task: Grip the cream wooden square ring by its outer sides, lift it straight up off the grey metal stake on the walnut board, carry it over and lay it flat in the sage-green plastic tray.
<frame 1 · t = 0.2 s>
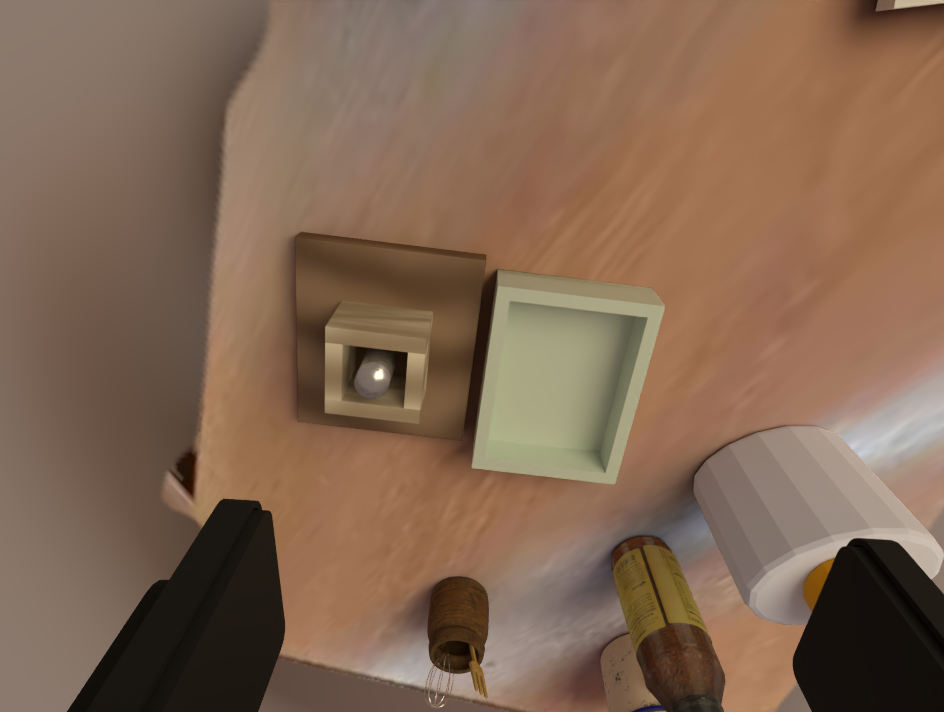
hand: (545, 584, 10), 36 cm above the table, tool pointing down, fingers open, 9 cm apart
tray: (556, 370, 49), on the table
stake board: (388, 339, 48), on the table
utensil holder: (461, 593, 61), on the table
soap bottle: (764, 464, 53), on the table
teacup with lid: (640, 646, 64), on the table
stake: (378, 364, 44), on the stake board, point 4 cm above the table
sauce bottle: (642, 554, 58), on the table
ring: (385, 347, 47), point 1 cm above the table, touching stake board
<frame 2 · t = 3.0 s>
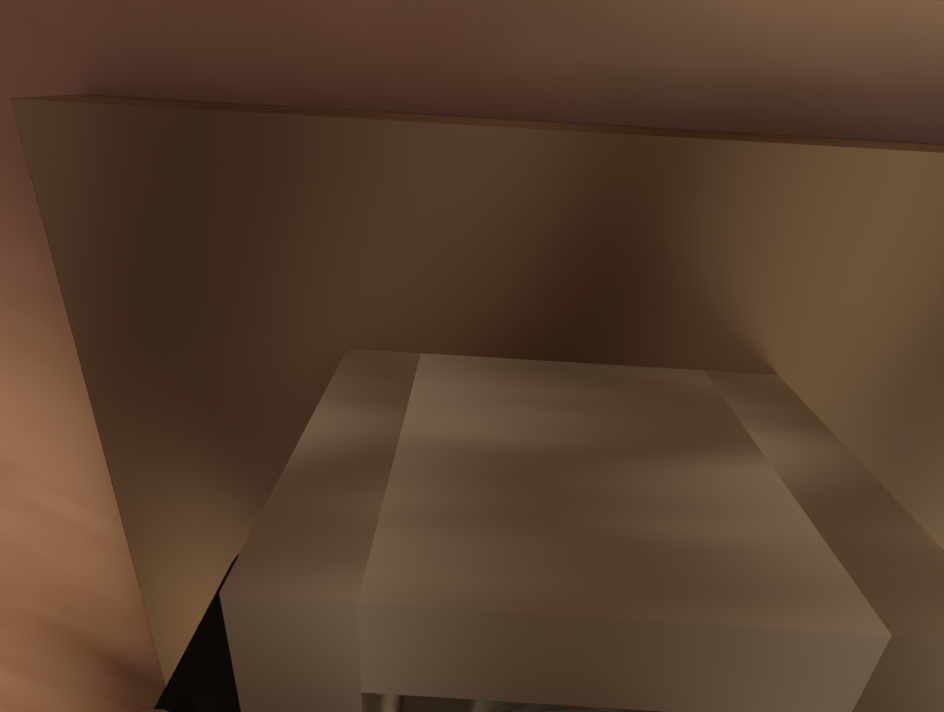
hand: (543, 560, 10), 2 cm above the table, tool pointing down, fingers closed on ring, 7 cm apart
stake board: (535, 478, 12), on the table
stake: (555, 675, 8), on the stake board, point 4 cm above the table
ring: (540, 528, 11), point 1 cm above the table, touching gripper, stake board
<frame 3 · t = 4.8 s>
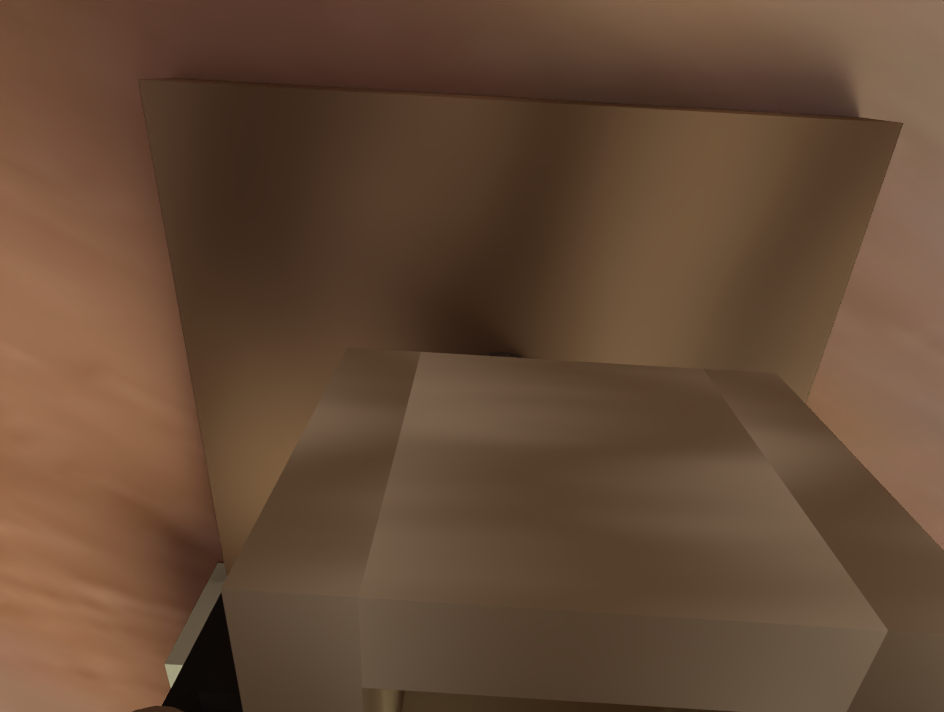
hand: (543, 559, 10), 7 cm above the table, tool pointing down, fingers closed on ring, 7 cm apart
tray: (446, 687, 23), on the table
stake board: (498, 367, 17), on the table
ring: (539, 526, 11), point 6 cm above the table, touching gripper
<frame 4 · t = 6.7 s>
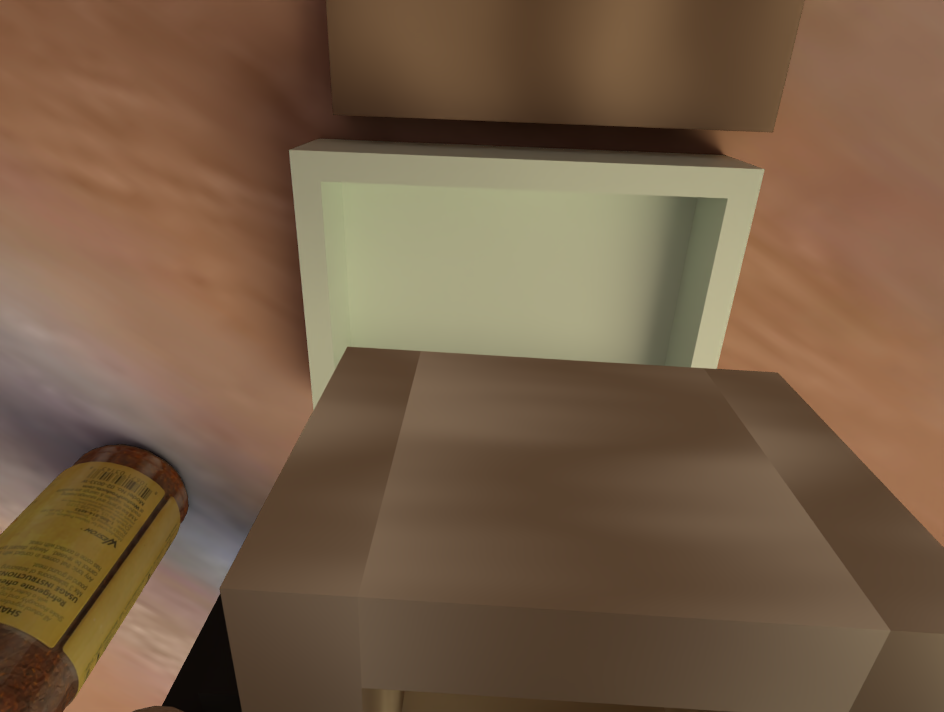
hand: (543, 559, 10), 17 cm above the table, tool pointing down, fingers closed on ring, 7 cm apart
tray: (511, 290, 26), on the table
sauce bottle: (140, 487, 32), on the table
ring: (540, 526, 11), point 16 cm above the table, touching gripper
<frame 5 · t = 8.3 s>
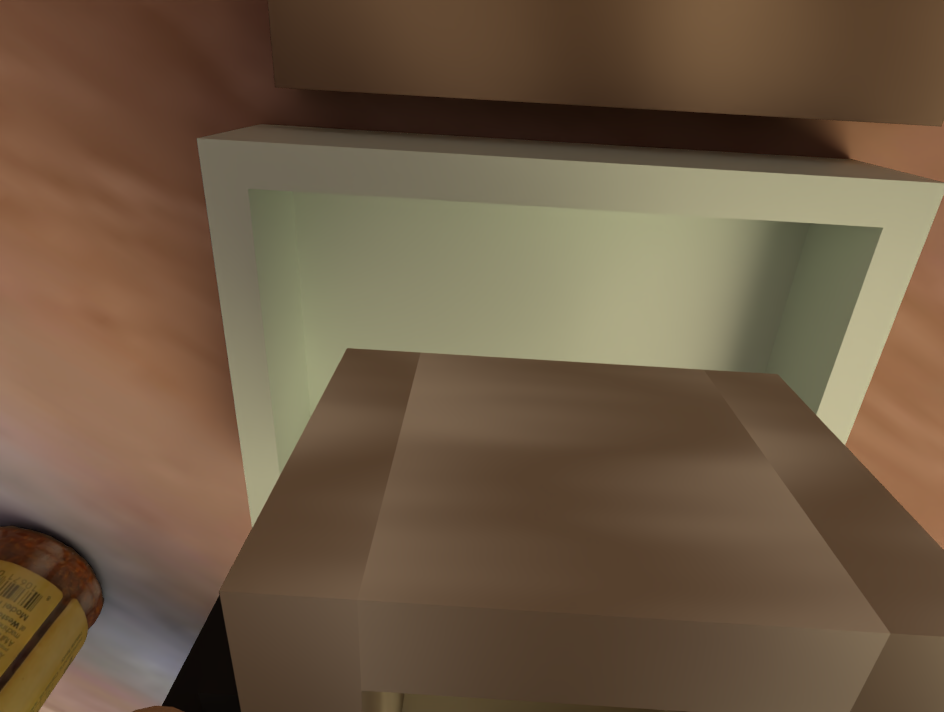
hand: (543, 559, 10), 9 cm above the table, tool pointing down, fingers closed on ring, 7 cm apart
tray: (532, 342, 19), on the table
sauce bottle: (43, 575, 24), on the table
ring: (539, 527, 11), point 8 cm above the table, touching gripper
when the fingers open (3 cm above the table, at t = 9.9 s): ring drops 2 cm, resting on tray.
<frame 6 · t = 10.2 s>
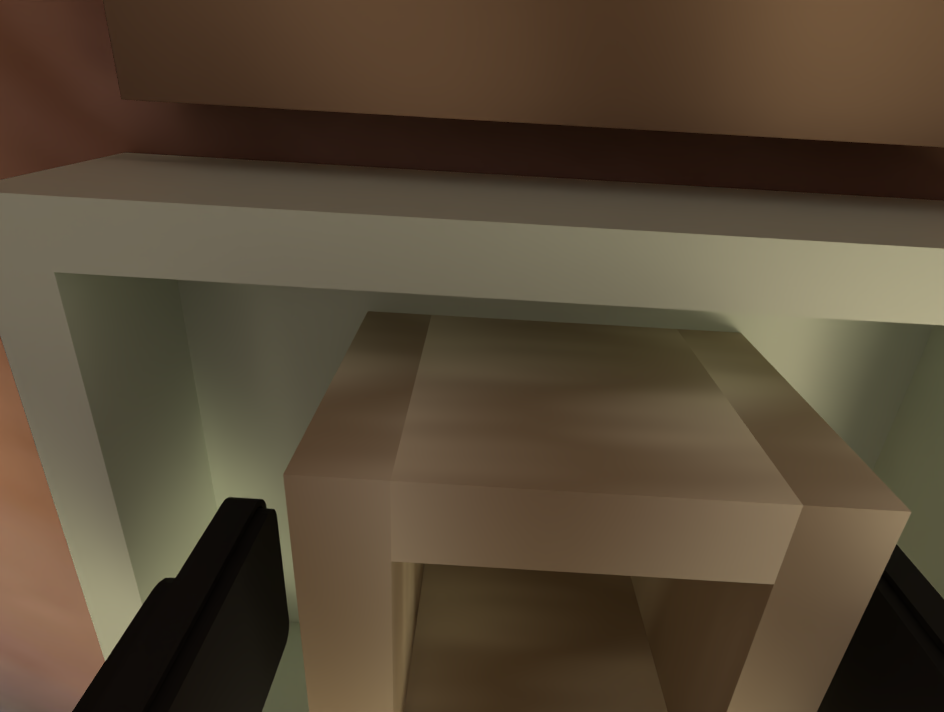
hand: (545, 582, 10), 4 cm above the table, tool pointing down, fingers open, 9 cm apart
tray: (531, 452, 13), on the table
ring: (535, 473, 13), point 1 cm above the table, touching tray
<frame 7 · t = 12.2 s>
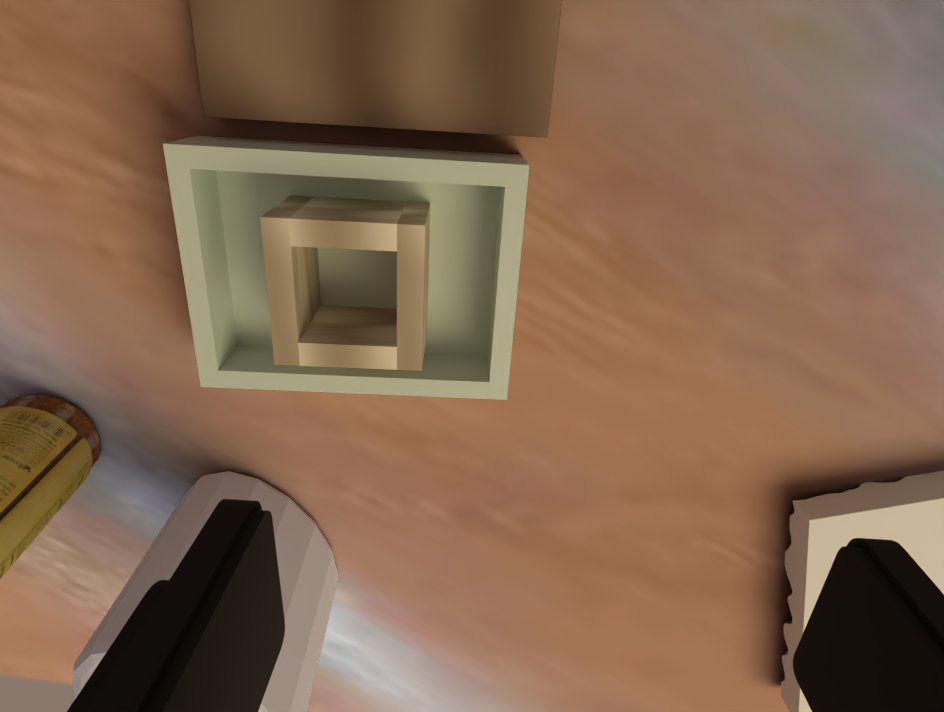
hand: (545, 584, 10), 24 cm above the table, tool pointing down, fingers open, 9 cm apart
tray: (363, 262, 32), on the table
cream wavy-edged slab: (880, 578, 44), on the table
soap bottle: (267, 539, 40), on the table
sauce bottle: (58, 433, 37), on the table
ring: (362, 266, 31), point 1 cm above the table, touching tray
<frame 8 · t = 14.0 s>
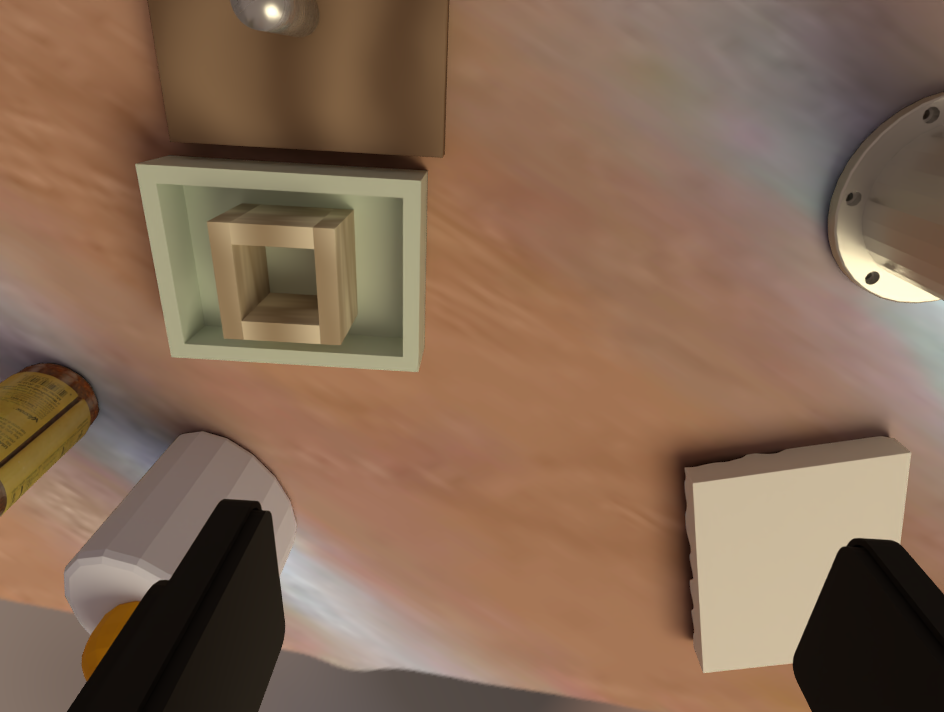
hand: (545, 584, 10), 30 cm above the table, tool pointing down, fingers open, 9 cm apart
tray: (304, 257, 39), on the table
stake board: (305, 14, 33), on the table
cream wavy-edged slab: (777, 542, 49), on the table
soap bottle: (237, 491, 48), on the table
stake: (278, 6, 29), on the stake board, point 4 cm above the table
sauce bottle: (65, 396, 44), on the table
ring: (302, 260, 38), point 1 cm above the table, touching tray
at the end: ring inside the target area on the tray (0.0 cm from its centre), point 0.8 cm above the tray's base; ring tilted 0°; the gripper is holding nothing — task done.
